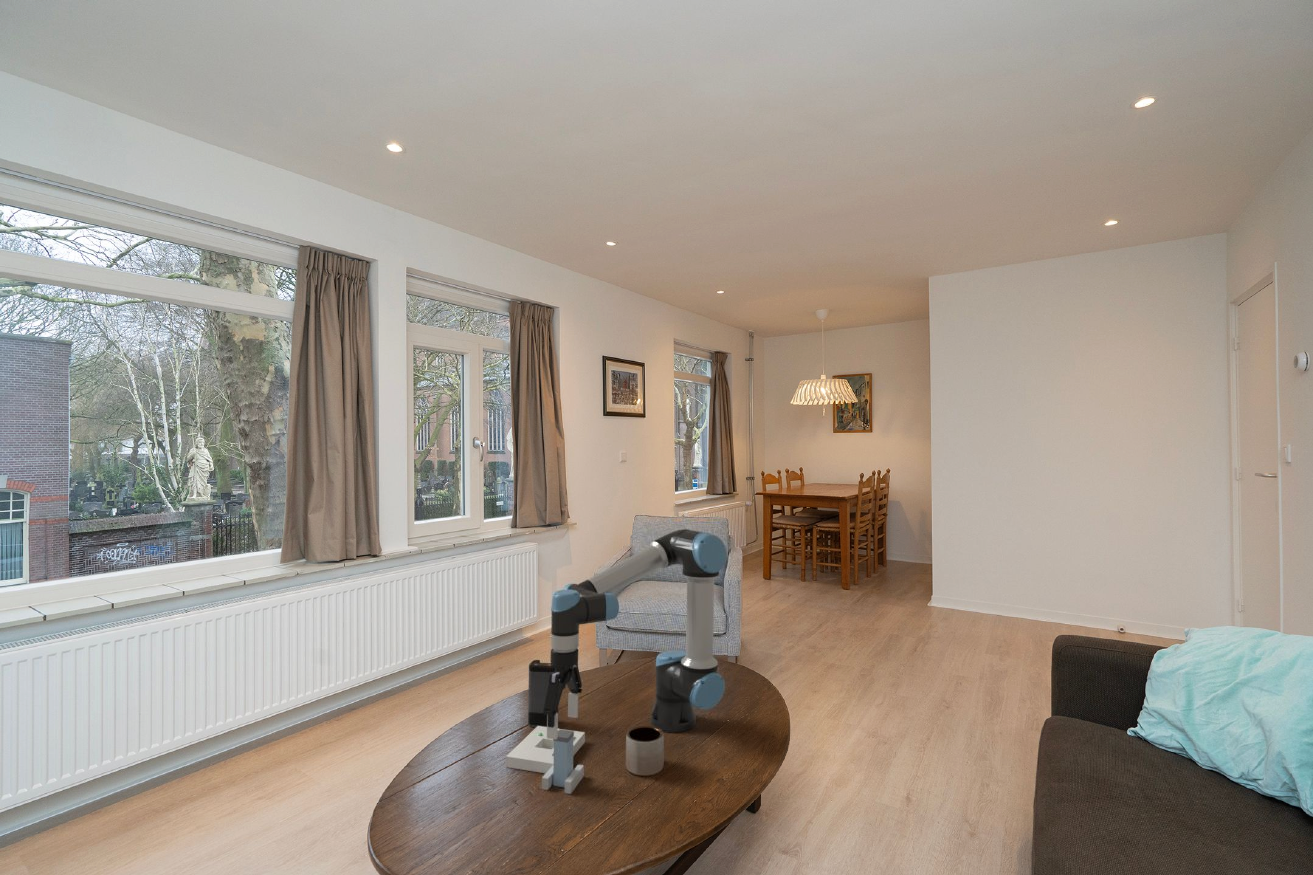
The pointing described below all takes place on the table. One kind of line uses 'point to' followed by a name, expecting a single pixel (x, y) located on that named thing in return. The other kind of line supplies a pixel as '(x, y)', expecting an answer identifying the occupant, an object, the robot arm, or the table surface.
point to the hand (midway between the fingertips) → (562, 727)
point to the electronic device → (538, 692)
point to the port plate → (538, 751)
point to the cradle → (570, 781)
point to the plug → (563, 757)
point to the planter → (644, 750)
